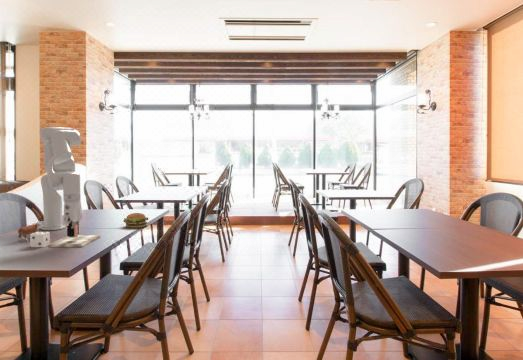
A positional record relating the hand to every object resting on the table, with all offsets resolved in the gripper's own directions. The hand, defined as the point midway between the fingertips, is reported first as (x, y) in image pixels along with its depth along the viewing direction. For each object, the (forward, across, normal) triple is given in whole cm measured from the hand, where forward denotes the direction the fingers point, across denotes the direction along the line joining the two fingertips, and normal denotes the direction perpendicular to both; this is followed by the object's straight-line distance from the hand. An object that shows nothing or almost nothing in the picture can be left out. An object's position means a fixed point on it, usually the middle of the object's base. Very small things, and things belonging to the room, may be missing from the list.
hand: (73, 234), depth 196 cm
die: (+4, -5, +13) cm, 15 cm away
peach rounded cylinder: (+1, 0, 0) cm, 1 cm away
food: (+4, +45, -17) cm, 48 cm away
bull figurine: (+4, +8, +25) cm, 27 cm away
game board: (+4, +3, 0) cm, 5 cm away
